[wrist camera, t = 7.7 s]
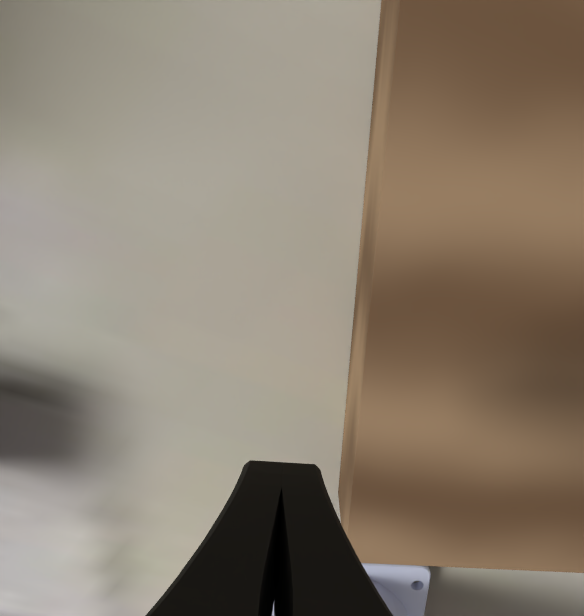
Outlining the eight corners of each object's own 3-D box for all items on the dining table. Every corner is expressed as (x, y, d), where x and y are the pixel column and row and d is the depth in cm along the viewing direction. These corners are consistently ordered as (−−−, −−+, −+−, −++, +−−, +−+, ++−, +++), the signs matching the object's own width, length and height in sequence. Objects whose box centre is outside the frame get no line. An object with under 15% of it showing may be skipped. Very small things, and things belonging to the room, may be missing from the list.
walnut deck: (590, 503, 22) (642, 575, 18) (338, 492, 22) (345, 562, 18) (741, -17, 15) (860, -49, 12) (384, -33, 15) (407, -69, 12)
